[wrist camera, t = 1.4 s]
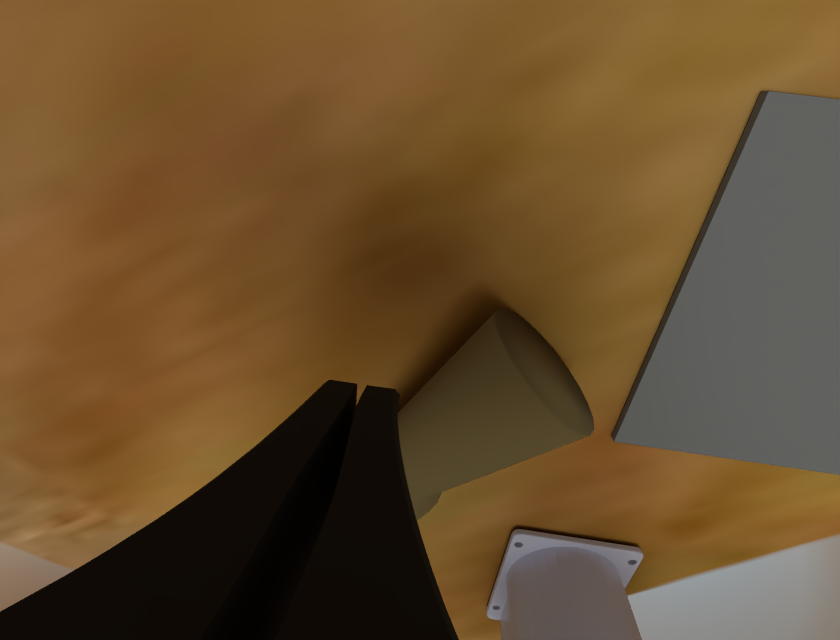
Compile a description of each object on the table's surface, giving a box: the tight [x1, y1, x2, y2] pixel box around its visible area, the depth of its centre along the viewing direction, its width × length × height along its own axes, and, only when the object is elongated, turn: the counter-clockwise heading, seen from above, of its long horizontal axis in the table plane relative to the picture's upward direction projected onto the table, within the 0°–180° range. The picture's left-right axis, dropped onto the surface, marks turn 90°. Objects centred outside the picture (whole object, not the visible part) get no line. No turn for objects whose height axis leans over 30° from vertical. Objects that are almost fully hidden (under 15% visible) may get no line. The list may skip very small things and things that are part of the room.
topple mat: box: [612, 91, 840, 475], centre depth 18 cm, size 16×13×1 cm
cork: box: [398, 308, 594, 520], centre depth 19 cm, size 6×6×11 cm
